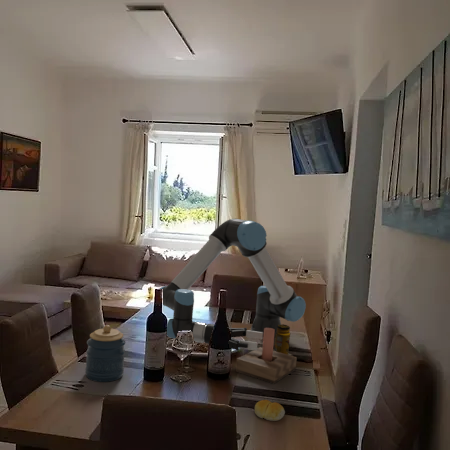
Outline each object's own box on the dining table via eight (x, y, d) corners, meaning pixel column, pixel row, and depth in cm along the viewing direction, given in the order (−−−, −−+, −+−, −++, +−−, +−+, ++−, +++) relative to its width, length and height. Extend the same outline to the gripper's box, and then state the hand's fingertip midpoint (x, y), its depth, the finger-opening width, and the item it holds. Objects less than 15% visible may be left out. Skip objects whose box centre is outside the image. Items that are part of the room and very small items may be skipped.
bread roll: (261, 405, 149) (262, 393, 149) (287, 414, 144) (288, 401, 144) (248, 415, 142) (249, 402, 142) (275, 424, 137) (276, 411, 137)
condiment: (292, 355, 198) (295, 327, 197) (277, 358, 193) (279, 329, 192) (281, 349, 204) (283, 322, 203) (266, 352, 199) (268, 324, 198)
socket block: (259, 359, 190) (260, 347, 190) (295, 369, 181) (296, 357, 181) (235, 371, 175) (236, 358, 175) (274, 383, 166) (275, 370, 166)
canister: (89, 384, 155) (92, 332, 153) (81, 370, 166) (84, 321, 165) (128, 380, 161) (131, 329, 159) (118, 366, 172) (121, 319, 171)
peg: (264, 365, 181) (267, 327, 180) (273, 368, 179) (276, 329, 178) (259, 368, 178) (262, 329, 177) (268, 370, 176) (271, 331, 174)
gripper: (213, 333, 195) (263, 341, 190) (196, 352, 171) (253, 361, 166) (214, 316, 194) (265, 322, 190) (197, 332, 170) (255, 340, 166)
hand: (260, 341), depth 178 cm, fingers open, 13 cm apart
